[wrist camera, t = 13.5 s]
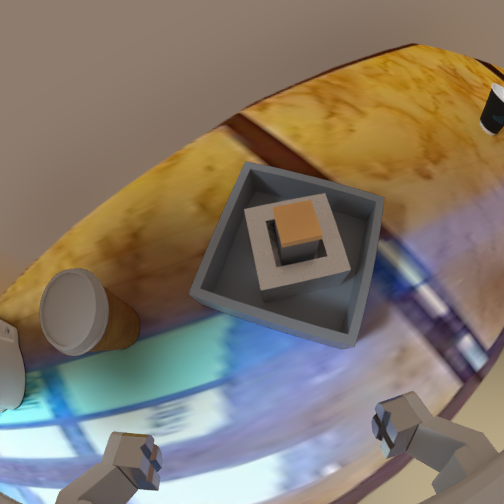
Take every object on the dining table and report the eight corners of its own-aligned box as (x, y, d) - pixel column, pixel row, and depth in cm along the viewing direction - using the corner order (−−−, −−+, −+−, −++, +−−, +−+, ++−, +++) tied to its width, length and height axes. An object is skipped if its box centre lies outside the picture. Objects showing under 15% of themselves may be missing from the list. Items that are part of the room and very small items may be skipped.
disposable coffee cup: (126, 279, 38) (76, 247, 27) (164, 331, 35) (115, 315, 24) (84, 321, 36) (27, 302, 25) (116, 374, 33) (58, 372, 22)
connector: (281, 271, 33) (281, 243, 26) (274, 241, 34) (272, 207, 27) (313, 263, 33) (322, 234, 26) (305, 234, 34) (311, 199, 27)
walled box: (202, 305, 35) (188, 294, 30) (250, 187, 41) (245, 161, 36) (342, 349, 32) (354, 346, 26) (371, 220, 38) (384, 197, 32)
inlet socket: (264, 302, 34) (260, 290, 28) (249, 232, 37) (244, 209, 32) (339, 285, 34) (350, 269, 28) (319, 217, 37) (325, 193, 32)
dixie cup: (486, 115, 45) (502, 84, 34) (504, 140, 42) (525, 110, 31) (468, 115, 45) (485, 81, 34) (488, 142, 42) (509, 108, 31)
